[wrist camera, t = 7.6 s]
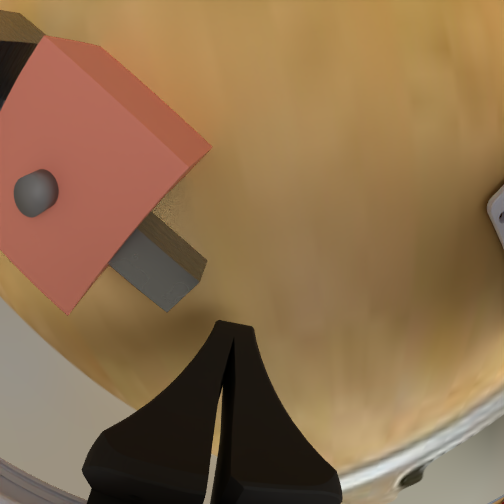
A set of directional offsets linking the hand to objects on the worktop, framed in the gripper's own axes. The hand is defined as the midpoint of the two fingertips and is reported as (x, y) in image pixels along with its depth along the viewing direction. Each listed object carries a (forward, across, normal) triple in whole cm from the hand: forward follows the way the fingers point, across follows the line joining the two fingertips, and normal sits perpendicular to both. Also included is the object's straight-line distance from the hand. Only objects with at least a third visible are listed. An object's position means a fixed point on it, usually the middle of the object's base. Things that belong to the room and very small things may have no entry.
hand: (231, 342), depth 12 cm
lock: (+2, +6, -5) cm, 9 cm away
